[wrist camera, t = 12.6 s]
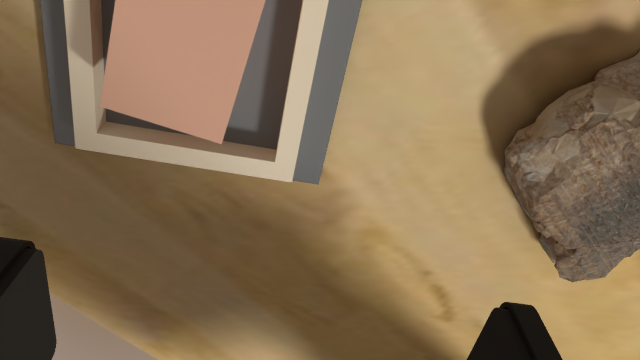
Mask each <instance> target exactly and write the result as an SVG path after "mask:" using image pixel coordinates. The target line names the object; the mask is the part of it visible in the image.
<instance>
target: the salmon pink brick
mask: <svg viewBox="0 0 640 360" xmlns="http://www.w3.org/2000/svg"><path fill="white" fill-rule="evenodd" d="M265 2H266V0H115V6H114V13H113V20H112V27H111V33H110V40H109V47H108V54H107V61H106V68H105V75H104V81H103V88H102V95H101V102H100V107H103V108H106V109H109V110H113V111H116V112H119V113H122V114H125V115H129V116H132V117H135V118H138V119H142V120H145V121H148V122H151V123H154V124H158V125H161V126H164V127H167V128H170V129H174V130H177V131H180V132H183V133H187V134H190V135H193V136H196V137H199V138H203V139H206V140H209V141H212V142H216V143H219V144H222V141H223V138H224V135H225V132H226V129H227V126H228V122H229V119H230V116H231V113H232V110H233V107H234V103H235V100H236V97H237V93H238V90H239V87H240V84H241V80H242V77H243V74H244V71H245V67H246V64H247V61H248V57H249V54H250V51H251V48H252V44H253V41H254V38H255V35H256V31H257V28H258V25H259V21H260V18H261V15H262V12H263V8H264V5H265Z"/></svg>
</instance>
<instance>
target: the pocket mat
mask: <svg viewBox="0 0 640 360" xmlns="http://www.w3.org/2000/svg"><path fill="white" fill-rule="evenodd" d="M361 3H362V0H266V2H265V5H264V8H263V12H262V15H261V18H260V21H259V25H258V28H257V31H256V35H255V38H254V41H253V44H252V48H251V51H250V54H249V57H248V61H247V64H246V67H245V71H244V74H243V77H242V80H241V84H240V87H239V90H238V93H237V97H236V100H235V103H234V107H233V110H232V113H231V116H230V119H229V122H228V126H227V129H226V132H225V135H224V138H223V141H222V144H219V143H216V142H212V141H209V140H206V139H203V138H199V137H196V136H193V135H190V134H187V133H183V132H180V131H177V130H174V129H170V128H167V127H164V126H161V125H158V124H154V123H151V122H148V121H145V120H142V119H138V118H135V117H132V116H129V115H125V114H122V113H119V112H116V111H113V110H109V109H106V108H103V107H100V102H101V95H102V88H103V81H104V75H105V68H106V61H107V54H108V47H109V40H110V33H111V27H112V20H113V13H114V6H115V0H40V5H41V14H42V24H43V33H44V43H45V52H46V62H47V71H48V81H49V90H50V99H51V109H52V118H53V128H54V137H55V143H58V144H65V145H71V146H75V149H81V150H88V151H94V152H101V153H107V154H113V155H120V156H126V157H132V158H139V159H145V160H152V161H158V162H164V163H171V164H177V165H183V166H190V167H196V168H202V169H209V170H215V171H222V172H228V173H234V174H241V175H247V176H253V177H260V178H266V179H273V180H279V181H285V182H292V180H293V181H300V182H306V183H312V184H319V180H320V176H321V172H322V167H323V163H324V159H325V155H326V151H327V146H328V142H329V138H330V134H331V130H332V125H333V121H334V117H335V113H336V109H337V104H338V100H339V96H340V92H341V88H342V83H343V79H344V75H345V71H346V67H347V62H348V58H349V54H350V50H351V45H352V41H353V37H354V33H355V29H356V24H357V20H358V16H359V12H360V8H361Z"/></svg>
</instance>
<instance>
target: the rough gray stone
mask: <svg viewBox="0 0 640 360" xmlns="http://www.w3.org/2000/svg"><path fill="white" fill-rule="evenodd" d="M504 152H505V158H506V162H505V169H504V173H505V176H506V178H507V181H508V183H509V185H510V186H511V188H512V189H513V191H514V193H515V196H516V198H517V200H518V202H519V203H520V205H521V207H522V208H523V210H524V211H525V213H526V214H527V216H528V217H529V218H530V219H531V220H532V222H533V225H534V228H535V229H536V230H537V231H538V232H541V236H540V240H539V242H540V243H541V245H542V247H543V248H544V250H545V251H546V253H547V255H548V256H549V258H550V259H551V261H552V262H553V263H555V265H554V266H555V267H556V269H557V270H558V273H559V277H560V278H563V279H566V280H568V281H571V282H575V281H581V280H591V279H598V278H603V277H606V275H607V274H608V273H609V272H610V271H611V270H612V269H613V268H614V267H615V266H617V264H618V263H619V262H620V261H621V260H622V259H623V258H625V257H629V256H631V255H632V254H633V253H634V252H635V251H637V250H639V249H640V50H639V52H638V53H637V54H636V56H634V57H632V58H630V59H627V60H624V61H621V62H618V63H615V64H612V65H610V66H608V67H606V68H603V69H601V70H600V71H599V72H598V73H597V75H596V76H595V81H593V82H590V83H587V84H585V85H582V86H580V87H577V88H574V89H572V90H569V91H568V92H566V93H565V94H563V95H562V96H561V97H559V98H558V99H556V100H555V101H554V102H552V103H551V104H549V105H548V106H547V107H546V108H545V109H544V110H543V112H542V113H541V114H540V115H539V116H538V117H537V119H536V121H535V123H533V124H531V125H529V126H528V127H525V128H523V129H520V130H518V131H517V132H516V134H515V136H514V138H513V139H512V141H511V142H510V144H509V145H508V146H507V148H506V149H505V151H504Z"/></svg>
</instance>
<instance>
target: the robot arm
mask: <svg viewBox="0 0 640 360" xmlns="http://www.w3.org/2000/svg"><path fill="white" fill-rule="evenodd" d="M55 348H56V334H55V328H54V321H53V314H52V308H51V301H50V295H49V288H48V281H47V275H46V268H45V261H44V255H43V252H42V251H41V250H37V249H36V248H35V245H34V243H33V242H32V241H26V240H18V239H10V238H3V237H0V360H51V359H52V357H53V355H54V352H55ZM467 360H562V358H561V356H560V354H559V352H558V350H557V348H556V346H555V344H554V343H553V341H552V339H551V337H550V335H549V333H548V331H547V329H546V327H545V325H544V323H543V322H542V320H541V318H540V316H539V314H538V312H537V310H536V309H535V308H534V307H533V306H531V305H526V304H518V303H510V302H504V303H503V304H501V306H500V307H499V308H494V309H493V311H492V312H491V314H490V316H489V318H488V320H487V322H486V324H485V326H484V327H483V329H482V331H481V333H480V335H479V337H478V339H477V341H476V343H475V345H474V347H473V349H472V351H471V353H470V354H469V356H468V358H467Z"/></svg>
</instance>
